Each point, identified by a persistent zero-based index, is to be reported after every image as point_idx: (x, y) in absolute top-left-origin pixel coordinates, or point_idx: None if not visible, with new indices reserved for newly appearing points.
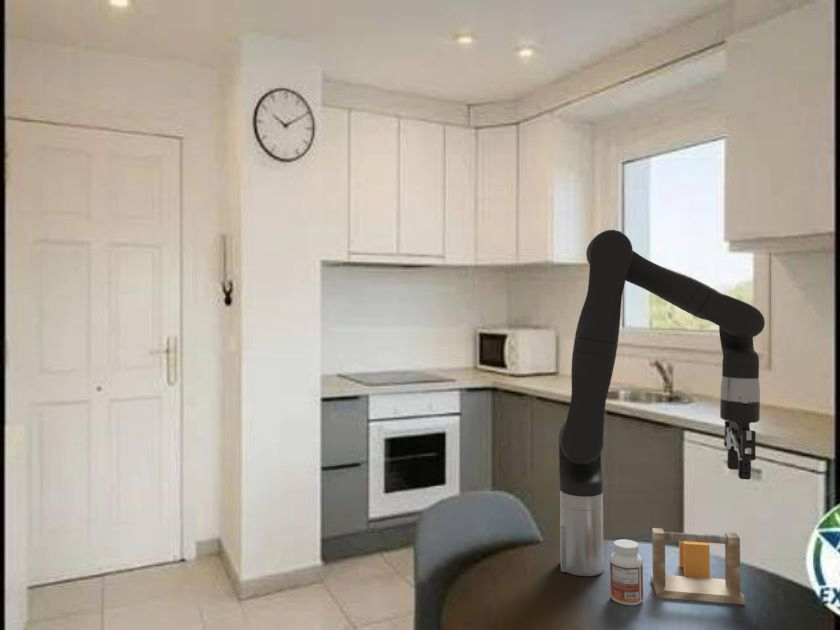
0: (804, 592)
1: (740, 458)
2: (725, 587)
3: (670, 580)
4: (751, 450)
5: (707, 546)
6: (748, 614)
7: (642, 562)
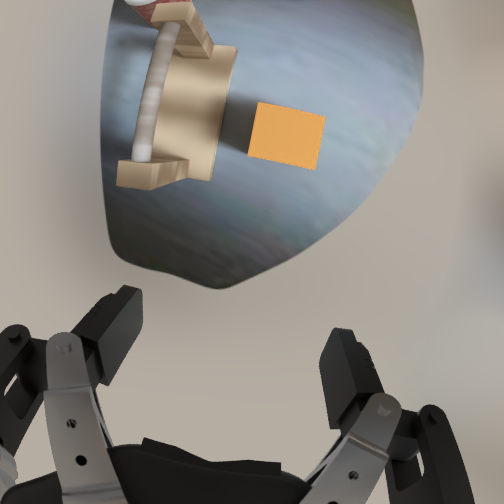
0: (198, 283)
1: (51, 340)
2: (176, 154)
3: (205, 70)
4: (25, 407)
5: (248, 151)
6: None
7: (136, 4)
